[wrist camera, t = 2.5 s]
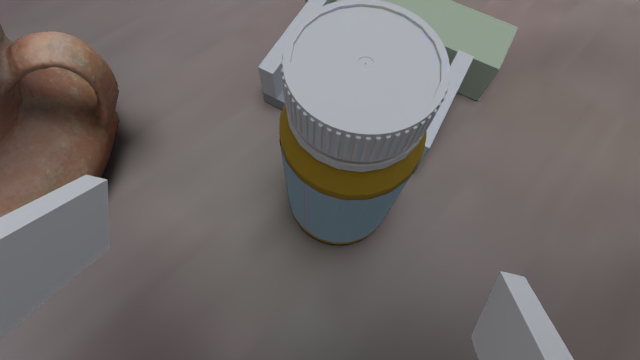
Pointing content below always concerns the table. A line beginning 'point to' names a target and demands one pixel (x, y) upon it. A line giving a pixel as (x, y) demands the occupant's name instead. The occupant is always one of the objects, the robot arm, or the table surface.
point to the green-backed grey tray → (456, 35)
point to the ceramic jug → (52, 115)
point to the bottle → (356, 112)
